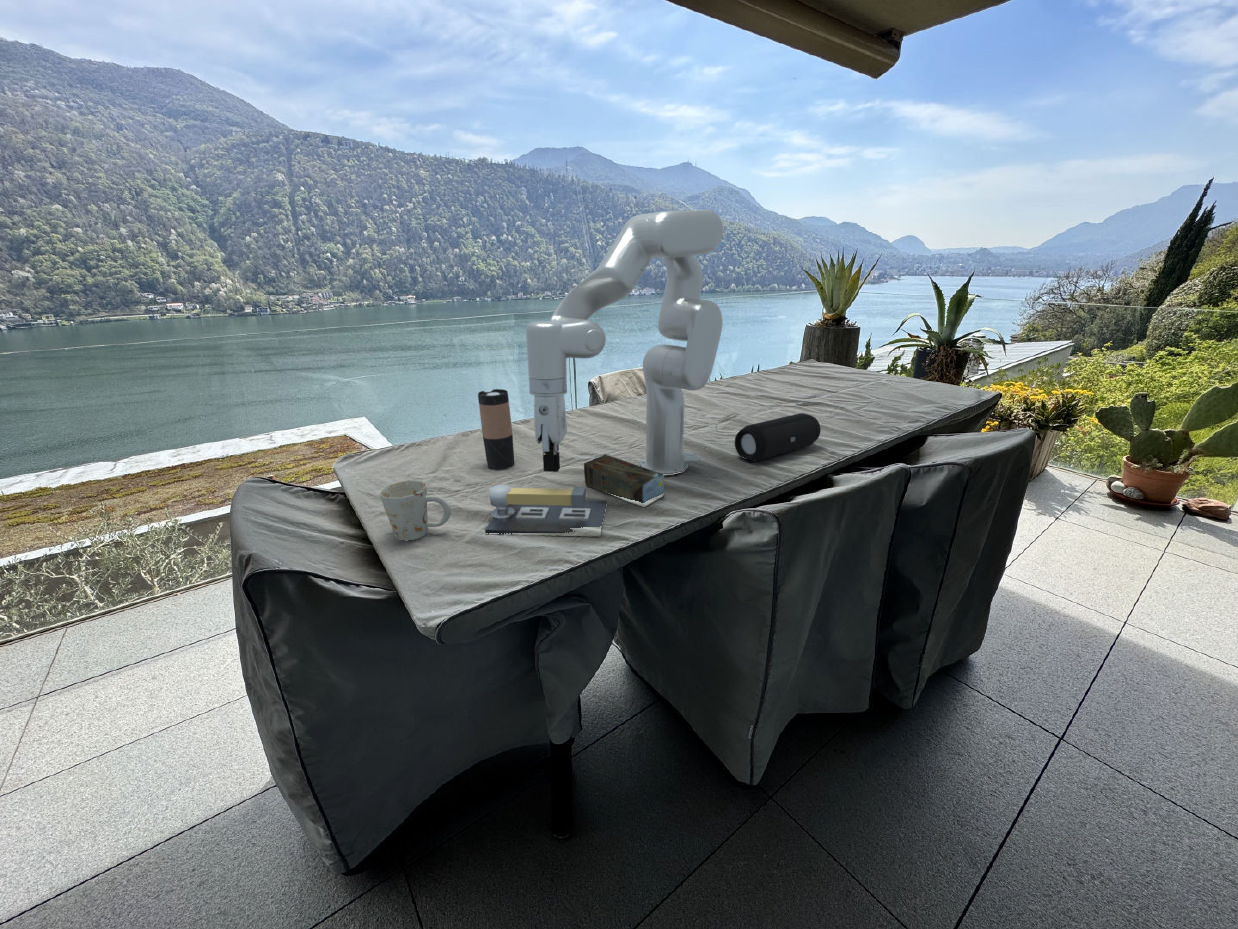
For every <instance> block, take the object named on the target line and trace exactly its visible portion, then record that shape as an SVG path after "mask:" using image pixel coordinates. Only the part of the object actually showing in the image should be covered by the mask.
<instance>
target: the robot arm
mask: <svg viewBox="0 0 1238 929" xmlns="http://www.w3.org/2000/svg"><path fill="white" fill-rule="evenodd" d="M723 225H724V224H723V221H722V219H721V217H720V216H719V215H718V214H717V212H715V211H714V210H711V209H708V208H707V209H693V210H662V211H656V212H648V213H641V214H637V215H635V216H632V217H631V218H629V219H628V220H627V222H626V223H625V224H624V226H623V227H622V228H621V230H620V232H619V233H618V235H617V236H616V238H615V239H614V241H613V242H612V244H611V246H610V248H609V249H607V250H608V251H607V252H606V254H605V255H604V257H603V258H602V260H601V262H600V263H599V265H597V268H596V269H594V271H593V272H591V273H590V274H588V275H587V276H586V277H585V278H583V280H581V281H580V282H579V283H578V284H577V285H576V286H574V287H573V288H572V289H571V290H570V291H569V292H568V293H567V294H566V295H565V296H564V297H563V299H562V300H561V301H560V302H559V304H558V305H557V308H555V311H554V312H553V313H552V315H551V316H550V319H549V320H539V321H538V320H537V321H531V322H529V323H528V324H527V326H526V329H525V332H526V333H525V334H526V335H525V336H526V337H525V339H526V353H527V370H528V371H527V372H528V386H529V387H528V388H529V394H530V395H532V396H533V399H534V401H533V403H534V404H533V409H534V412H533V414H534V420H533V421H534V437H535V441H536V444H538V445H539V444H541V451H542V462H543V471H544V472H545V473H547V472H550V473H558V472H559V470H560V469H561V463H560V462H561V461H560V451H559V450H560V446H559V445H560V443H561V442H563V440H564V438H565V436H566V434H567V433H568V432H567V431H568V424H567V423H568V422H567V414H566V413H567V411H566V400H565V395H566V394H568V382H567V381H568V376H567V359H569V358H570V359H573V358H574V359H591V358H595V357H596V356H598V355H599V354H600V353H601V352H602V351H603V350H604V348H605V345H606V341H607V339H606V333H605V331H604V329H603V327H601V325H600V324H599V323H597V322H595V321H593V320H589V319H590V318H591V317H592V316H593V315H594V314H595V313H597V312H598V311H600V310H601V309H603V308H605V307H609V306H610V305H613V304H615V303H617V302H619V301H621V300H623V299H625V298H626V297H628V296H629V295H630V294H631V293H632V292H633V290H634V289H635V286H636V285H637V283H639V280H640V279H641V277H642V276H643V274H644V272H645V270H646V269H647V267H648V266H649V264H650V263H651V262H652V261H653V259H659V258H660V259H663V261H664V265H665V268H666V281H665V287H664V293H663V295H662V301H661V306H660V310H659V315H658V322H657V328H658V332H659V334H661V335H662V337H664V338H666V339H669V340H674V341H679V342H680V341H681V342H686V346H680V345H673V344H666V343H665V344H663V343H662V344H657V345H654V346H652V347H651V348H649V349H648V350H647V351H646V353H645V354H644V356H643V360H642V373H643V378H644V384H645V390H646V392H645V393H646V425H645V426H646V427H645V428H646V430H645V432H646V434H645V438H646V439H645V440H646V442H645V443H646V444H645V446H646V448H645V449H646V450H645V454H646V455H645V457H644V458H643V459H642V460H640V463H639V466H641V467H644V468H646V469H649V470H652V471H654V472H658V473H660V474H673V473H678V472H683V471H684V470H686V469H687V468H688V469H689V463H694V464H701V455H696V453H695V452H686V451H685V448H684V431H685V430H684V429H685V407H686V406H685V405H686V404H685V403H686V402H685V397H684V393H683V390H687V391H692V392H693V391H694V392H695V391H699V390H701V389H703V388H704V387H705V386H706V385H707V383H708V382H709V380H710V377H711V375H712V371H713V369H714V363H715V361H716V356H717V352H718V348H719V345H720V340H721V336H722V331H723V314H722V310H721V308H720V307H719V305H718V304H717V303H716V302H714V301H712V300H710V299H709V300H708V299H701V292H702V288H703V282H704V277H703V276H704V274H703V271H702V268H701V265H700V263H699V260H698V258H697V255H706V254H709V253H713V252H714V251H715V250H716V249H717V247H719V245H720V243H721V241H722V239H723V235H724V226H723ZM688 469H687V470H688ZM687 470H686V471H687ZM683 473H684V472H683Z"/></svg>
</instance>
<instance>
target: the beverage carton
mask: <svg viewBox="0 0 1238 929" xmlns="http://www.w3.org/2000/svg"><path fill="white" fill-rule="evenodd" d="M583 473H584V476H583V477H584V483H585V485H586V486H588V487H591V488H593V489H595V488H596V490H598V491H601V492H603V491H604V492H603V493H605V492H607V493H606V494H608V493H610V494H613V495H616V496H619V497H624V498H627V499H630V500H635V501H639V502H641V503H645V502H646V501H648V500H650V499H652V498H654V497H657V496H659V495H661V494H663V493H664V494H665V476H664V475H663V474H660V473H658V472H654V471H652V470H649V469H646V468H644V467H641V466H640V465H638V464H636V463H631V462H629V461H627V460H626V461H625V460H623V459H621V458H617V457H614V456H612V455H608V454H603V455H601V456H599V457H595V458H593V459H592V460H589V461H586V462H584V463H583ZM610 494H609V495H610ZM613 495H612V496H613Z"/></svg>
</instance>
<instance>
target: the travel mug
mask: <svg viewBox="0 0 1238 929" xmlns="http://www.w3.org/2000/svg"><path fill="white" fill-rule="evenodd" d="M477 398H478V399H477V400H478V405H479V406H478V408H479V414H480V425H481V432H482V439H483V447H484V451H485V452H484V453H485V459H486V463H487V468H488V469H491V470H495V471H500V470H507V469H510V468H512V467H514V465H515V453H514V452H515V451H514V436H513V428H512V426H513V425H512V418H511V416H512V415H511V409H510V401H509V400H510V399H509V392H508V390H506V389H502V388H497V389H496V388H494V389H492V390H491V391H485V390H480V391H479V392H478V393H477Z"/></svg>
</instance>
